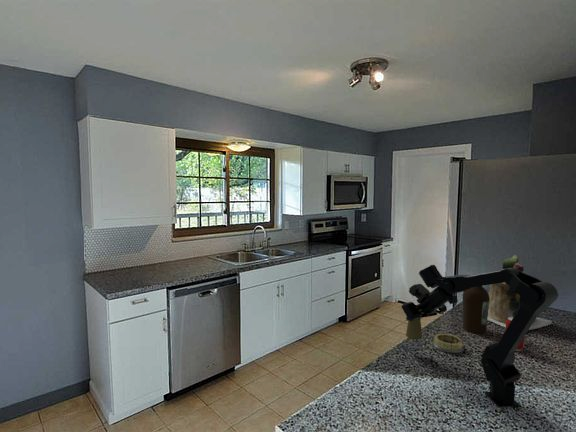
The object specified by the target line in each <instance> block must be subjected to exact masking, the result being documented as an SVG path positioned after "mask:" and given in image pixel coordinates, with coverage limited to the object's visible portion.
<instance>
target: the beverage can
mask: <svg viewBox="0 0 576 432" xmlns="http://www.w3.org/2000/svg"><path fill="white" fill-rule="evenodd" d="M512 319H513V317H508V319H507V320H506V328H504V329H505V330H506V329H507V327H508V326H509V324H510V322H511V321H512ZM524 348H525V337H524V338H523V339H522V341H521V343H520V344H519V346H518V347H517V349H516V350H515V352H520V351H523V350H524Z"/></svg>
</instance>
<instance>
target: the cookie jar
mask: <svg viewBox="0 0 576 432" xmlns="http://www.w3.org/2000/svg"><path fill="white" fill-rule="evenodd" d="M518 261H519V257H518V256H517V255H516V254H514V255H513V256H512V257H509V258H505V259H503V261H502V267H501V270H502V269H506V268H516V269H518V270H519V271H521V272H523V273H524V265H522V264H520V263H519V262H518ZM488 294H489V298H490V301H489V309H488V319H487V322H489V321H490V322H489V323H491V322H493V323H492V324H494V323H495V324H494V325H497V326H499V325H500V327H502V328H504V329H506V320H507V319H508V317H514V316H515V314H516V312H517V311H518V309H519V298H520V295H518V294H517V293H515V292H514V291H513V290H512V289H511V288H510V286H509V285H508V284H506V283H497V284H491V285H490V286H489V291H488ZM552 322H553V321H552V320H549V319H546V318H542V317H537V318H536V319H535V321H534V322H533V324H532V325H531V327H530V329H529V330H528V331H531V330H535V329H540V328H543V327H547V326H548V325H549V326H550V325H551V324H552ZM549 326H548V327H549Z"/></svg>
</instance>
